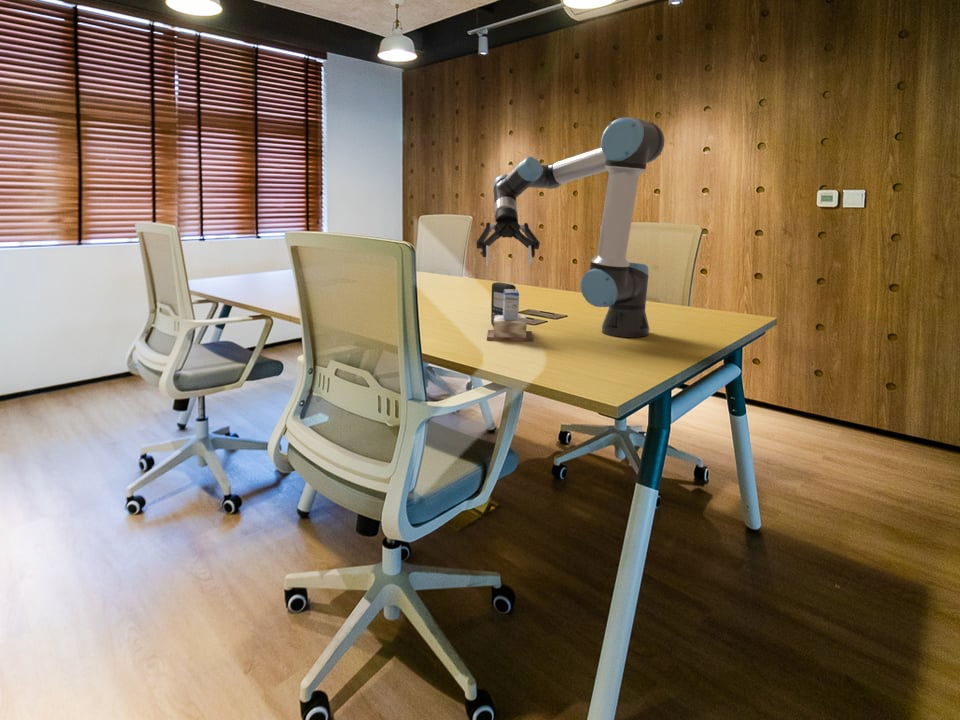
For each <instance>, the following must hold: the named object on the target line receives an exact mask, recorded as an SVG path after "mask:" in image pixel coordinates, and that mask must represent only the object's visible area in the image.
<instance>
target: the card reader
mask: <svg viewBox="0 0 960 720" xmlns="http://www.w3.org/2000/svg"><path fill="white" fill-rule="evenodd" d="M504 289H515V290H517V287H516V286H515V285H514V284H511V283H506V282H500V281H499V282H493V283H492V284H491V301H490V302H491V304H490V305H491V312H490V315H491V316H490V318H491V319H490V321H491V322H490V323H491V326H492V327H494V317H495V315H503V299H504Z"/></svg>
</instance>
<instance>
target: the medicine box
mask: <svg viewBox="0 0 960 720" xmlns="http://www.w3.org/2000/svg"><path fill="white" fill-rule="evenodd" d="M519 305H520V293H519V291H518V289H516V290H515V289H504V299H503V317H504V320H508V321H518V316H519V310H520V306H519Z"/></svg>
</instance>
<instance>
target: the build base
mask: <svg viewBox="0 0 960 720" xmlns="http://www.w3.org/2000/svg"><path fill="white" fill-rule="evenodd" d="M527 327H528V325H527V316H526V315H518V321H508V320H504V317H503V315H495V317H494V326H493V329H488V330H487V333H486V341H491V340H507V341H506V342H530V341H532V342H531V343H533V341H534V340H533V339H534V338H533V334H532V333H533V331H531V330H527Z"/></svg>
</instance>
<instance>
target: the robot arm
mask: <svg viewBox="0 0 960 720" xmlns="http://www.w3.org/2000/svg"><path fill="white" fill-rule="evenodd" d="M664 147H665V135H664V132H663V130H662V129H661V128H660V126H658V125H657V124H655V123H654V122H651V121H647V120H641V119H638V118H636V117H619V118H617V119H614V120H612V122H610V123H609V124H608V125H607V127H606V128H605V129H604V131H603V132H602V135H601V139H600V147H597V148H594V149H590V150H587V151H586V152H582V153H578V154H576V155H573V156H570V157H567V158H564V159H561V160H559V161H555V162H553V163H549V164H541V162H540V161H539V160H538V159H537V158H535V157H533V156H528V157H526V158H525V159H523V160H522V161H520V162H519V163H518V164H517V165H516V167H515V168H513V169H512V170H511V171H510V172H509V173H508V174H506V173H505V174H501V175H498V176H497V177H496V178H495V179H494V182H493V203H494V223H495V224H491V223H490V222H489V221H488V222H485V223H486V225H485V228H484V230H483V232H482V233H481V234H480V236H479V238H478V239H477V241H476V249H481V252H482V257H483V258H485V262H486V263H485V267H487V268H489V267H490V252H489V250H490V249H489V248H490V247H491V245H493V244H494V243H495V242H496V241H497V240H499V239H500V238H501V237H502V238H508V239H509V238H511V239H512V238H514V239H515V240H518V241H519V242H520V243H521V244H522V245H524V247H526V249H527V258H528V267H529V268H532V266H533V258H535V254H536V252H535V251H536V250H539V249H540V241H539V239H538V238H537V237H536V236H535V234H534V233H533V232H532V230H531V229H530V228H529V224H528V223H527V222H525V223H524V224H520V223H519V217H518V203H517V202H518V200H517V198H518V197H519V196H520V195H521V194H523V193H524V192H525V191H526V190H527V189H528V188H534V189H536V188H537V189H548V190H552V189H558V188H559V187H561V186H562V185H564V184H566V183H570V182H572V181H576V180H580V179H583V178H586V177H590V176H593V175H596V174H600V173H604V172H608V179H607V183H606V185H607V186H606V191H605V197H604V198H605V199H604V204H603V206H604V207H603V211H602V219H601V224H600V225H601V226H600V232H599V237H598V238H599V239H598V245H597V246H598V247H597V251H596V252H597V253H596V255H595V256H594V257H593V258H591V260H590V265H589V270H587V271H586V273H584V274H583V276H582V277H581V281H580V292H581V295H582V297H584V300H585V301H586V302H587V303H588V304H590V305H591V306H593V307H595V308H596V307H597V308H608V310H607V313H606V314H605V316H604V319H603V322H602V324H601V332H602V334H605V335H608V336H613V337H618V336H619V337H620V338H641V337H640V336H644V337H647V336H649V335H648V334H650V325H649V321H648V317H647V313H646V304H647V296H648V295H647V293H648V283H649V281H648V280H649V278H650V276H649V275H650V274H649V267H648V265H646V264H645V263H638V262H629V261H628V260H627V258H626V257H627V251H628V247H629V246H628V245H629V239H630V233H631V227H632V221H633V215H634V209H635V202H636V196H637V190H638V185H639V178H640V176H641V175H642V174H643V173H644V172H645V171H646V170H647V169H646V168H647V164H649V163H651V162H653V161H655V160H656V159H657V158H659V157H660V155H661V154H662V151H663V150H664ZM493 230H494V232H493V233H492V234H491V235H490V236H489V234H490V233H491V232H492V231H493ZM521 231H522V232H521ZM523 233H524V234H523ZM488 236H489V237H488ZM646 335H647V336H646Z"/></svg>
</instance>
